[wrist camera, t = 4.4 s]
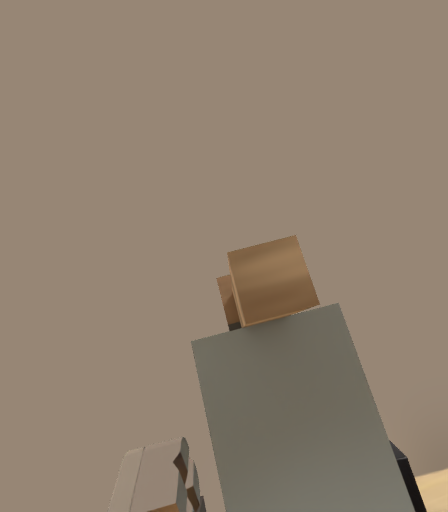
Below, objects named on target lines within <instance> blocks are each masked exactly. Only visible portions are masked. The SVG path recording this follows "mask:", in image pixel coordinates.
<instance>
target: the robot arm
mask: <svg viewBox="0 0 448 512" xmlns="http://www.w3.org/2000/svg"><path fill="white" fill-rule="evenodd" d="M199 506H200V489H199V480H198V474H197V470H196V466H195V463H194V460H192V459H190V458H189V446H188V444H187V441H186V439H185V438H184V437H181V438H177V439H173V440H168V441H164V442H161V443H157V444H152V445H148V446H146V447H142V448H138V449H134V450H130V451H127V453H126V454H125V456H124V457H123V460H122V464H121V467H120V470H119V474H118V477H117V481H116V484H115V488H114V491H113V494H112V498H111V501H110V505H109V508H108V512H197V510H198V508H199Z"/></svg>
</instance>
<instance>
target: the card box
mask: <svg viewBox="0 0 448 512" xmlns="http://www.w3.org/2000/svg"><path fill="white" fill-rule="evenodd" d="M197 512H206V508H205V503H204V498H203V496H200V506H199V508H198V510H197Z"/></svg>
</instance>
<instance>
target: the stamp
mask: <svg viewBox="0 0 448 512" xmlns="http://www.w3.org/2000/svg"><path fill="white" fill-rule="evenodd" d="M227 255H228V261H229V270H230V275H227V276H223V277H219V278H217V282H218V286H219V290H220V294H221V298H222V302H223V306H224V310H225V314H226V318H227V322H228V326H229V330H230V331H233V330H237V329H240V328H244V327H248V326H252V325H256V324H260V323H263V322H267V321H271V320H275V319H279V318H283V317H286V316H290V315H292V314H295V313H298V312H300V311H303V310H306V309H309V308H311V307H314V306H316V305H319V304H320V303H319V300H318V298H317V295H316V292H315V289H314V286H313V283H312V280H311V278H310V275H309V272H308V269H307V266H306V263H305V260H304V257H303V254H302V251H301V249H300V246H299V243H298V240H297V237H296V235H294V236H290V237H287V238H283V239H278V240H275V241H271V242H267V243H263V244H259V245H255V246H251V247H247V248H243V249H239V250H235V251H232V252H228V253H227Z"/></svg>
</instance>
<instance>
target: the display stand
mask: <svg viewBox="0 0 448 512" xmlns="http://www.w3.org/2000/svg"><path fill="white" fill-rule="evenodd" d="M191 344H192V348H193V354H194V359H195V363H196V368H197V373H198V378H199V383H200V388H201V392H202V397H203V402H204V407H205V412H206V417H207V422H208V426H209V431H210V436H211V441H212V446H213V450H214V455H215V460H216V465H217V470H218V475H219V480H220V484H221V489H222V493H223V499H224V504H225V509H226V512H415V510H414V507H413V504H412V502H411V499H410V496H409V494H408V491H407V488H406V485H405V483H404V480H403V477H402V474H401V472H400V469H399V466H398V464H397V461H396V458H395V455H394V453H393V450H392V447H391V445H390V442H389V439H388V437H387V434H386V431H385V428H384V425H383V423H382V420H381V417H380V415H379V412H378V409H377V407H376V404H375V401H374V398H373V396H372V393H371V390H370V388H369V385H368V382H367V379H366V377H365V374H364V371H363V368H362V365H361V363H360V360H359V357H358V355H357V352H356V349H355V346H354V344H353V341H352V338H351V336H350V333H349V330H348V327H347V325H346V322H345V319H344V317H343V314H342V311H341V308H340V306H339V303H336V304H332V305H329V306H325V307H321V308H317V309H313V310H310V311H306V312H302V313H298V314H294V315H290V316H286V317H283V318H279V319H275V320H271V321H267V322H263V323H260V324H256V325H252V326H248V327H244V328H240V329H237V330H233V331H229V332H225V333H221V334H218V335H214V336H210V337H207V338H202V339H198V340H195V341H191Z"/></svg>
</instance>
